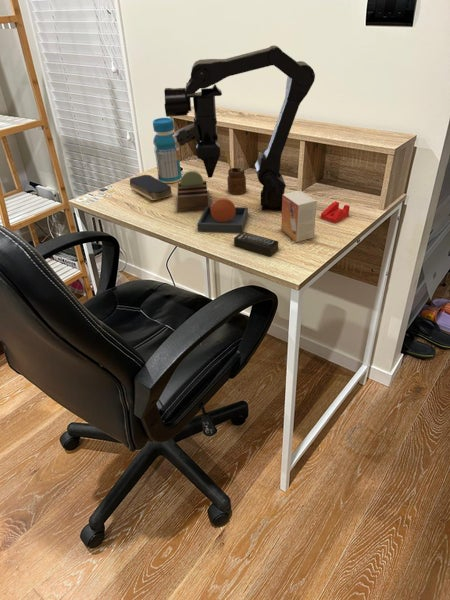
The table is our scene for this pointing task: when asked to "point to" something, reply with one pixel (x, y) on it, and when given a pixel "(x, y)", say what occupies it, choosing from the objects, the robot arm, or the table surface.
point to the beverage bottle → (166, 151)
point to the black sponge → (150, 187)
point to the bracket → (335, 212)
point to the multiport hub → (256, 243)
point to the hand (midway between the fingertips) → (209, 171)
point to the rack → (192, 198)
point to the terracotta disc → (223, 210)
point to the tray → (231, 226)
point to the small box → (298, 215)
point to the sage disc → (191, 179)
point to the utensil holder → (236, 178)
